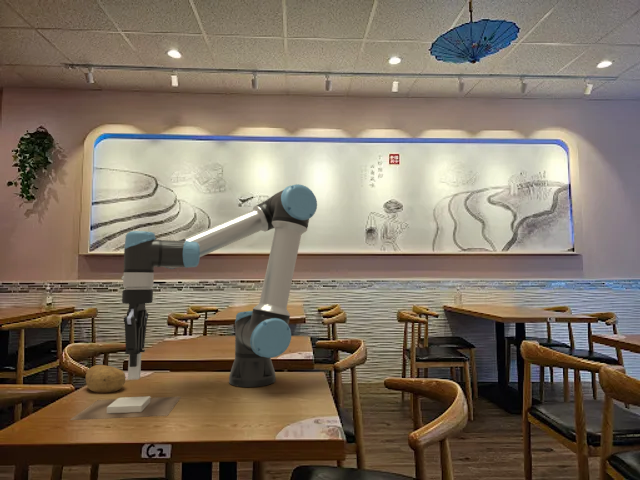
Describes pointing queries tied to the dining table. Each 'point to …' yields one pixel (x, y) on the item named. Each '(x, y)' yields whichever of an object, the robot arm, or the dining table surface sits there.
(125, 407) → the tile
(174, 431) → the dining table surface
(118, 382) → the potato
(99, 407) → the board
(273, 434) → the dining table surface
